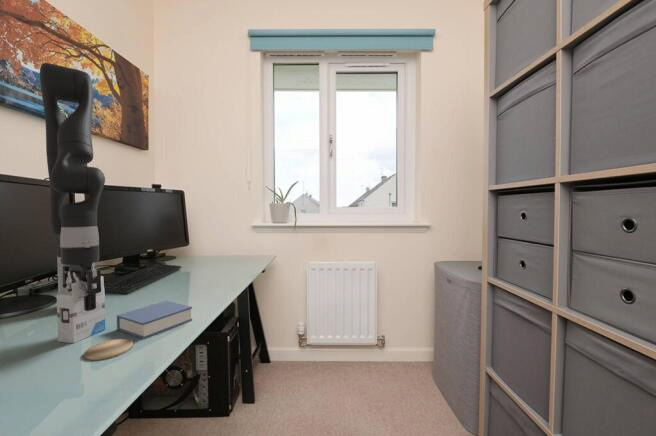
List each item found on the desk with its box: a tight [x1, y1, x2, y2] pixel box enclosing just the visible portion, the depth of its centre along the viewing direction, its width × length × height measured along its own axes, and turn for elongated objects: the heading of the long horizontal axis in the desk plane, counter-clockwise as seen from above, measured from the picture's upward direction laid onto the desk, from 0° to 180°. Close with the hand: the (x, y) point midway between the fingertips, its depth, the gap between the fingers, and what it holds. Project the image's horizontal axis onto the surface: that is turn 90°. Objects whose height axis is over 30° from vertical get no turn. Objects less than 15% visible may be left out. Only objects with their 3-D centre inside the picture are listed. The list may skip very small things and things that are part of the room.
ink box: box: [56, 275, 106, 344], centre depth 75 cm, size 8×5×15 cm, turn 168°
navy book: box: [116, 300, 193, 340], centre depth 82 cm, size 12×14×4 cm
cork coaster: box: [83, 338, 134, 361], centre depth 67 cm, size 9×9×1 cm
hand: (81, 307), depth 75 cm, fingers open, 8 cm apart
